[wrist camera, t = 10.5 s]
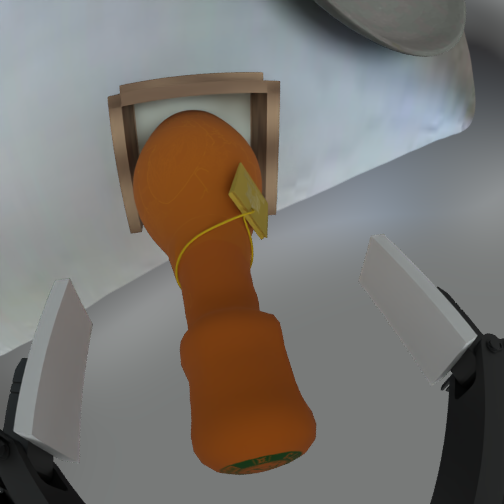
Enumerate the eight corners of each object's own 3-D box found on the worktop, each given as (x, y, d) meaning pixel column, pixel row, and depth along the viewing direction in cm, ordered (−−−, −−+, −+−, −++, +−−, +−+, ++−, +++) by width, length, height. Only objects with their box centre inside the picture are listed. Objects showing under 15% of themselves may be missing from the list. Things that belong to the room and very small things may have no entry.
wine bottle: (230, 189, 33) (351, 458, 9) (148, 191, 31) (126, 495, 7) (238, 109, 28) (509, 304, 4) (148, 107, 25) (-54, 373, 1)
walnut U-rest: (260, 197, 36) (276, 222, 30) (138, 213, 33) (132, 241, 27) (261, 72, 27) (281, 71, 21) (121, 85, 24) (105, 86, 18)
